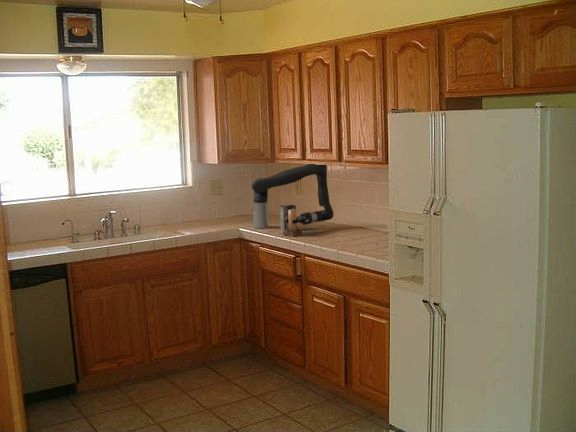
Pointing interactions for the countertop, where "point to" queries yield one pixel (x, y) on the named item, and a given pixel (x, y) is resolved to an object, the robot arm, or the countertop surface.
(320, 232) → the mat
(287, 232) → the collar
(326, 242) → the countertop surface
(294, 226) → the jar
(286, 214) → the coffee box
